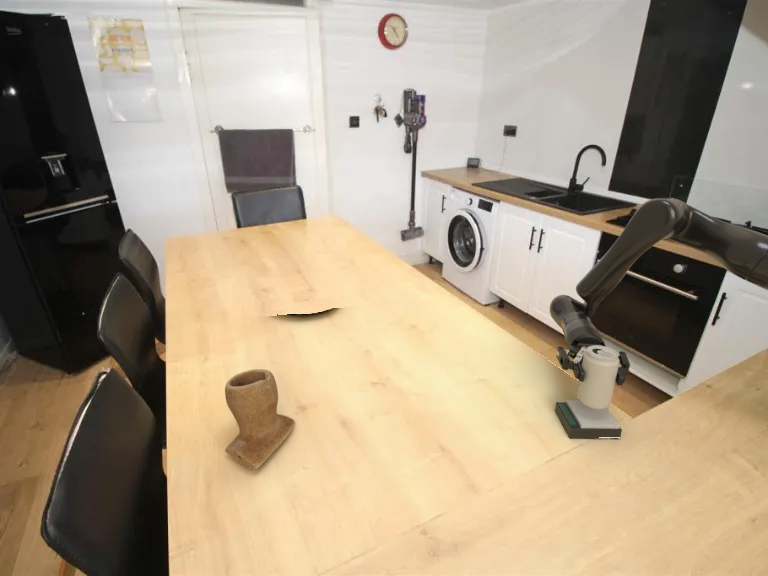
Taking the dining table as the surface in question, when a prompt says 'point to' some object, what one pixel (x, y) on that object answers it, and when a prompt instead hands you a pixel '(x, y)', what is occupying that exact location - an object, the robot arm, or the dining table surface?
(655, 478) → the dining table surface
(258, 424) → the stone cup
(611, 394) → the beverage can
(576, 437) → the scale
